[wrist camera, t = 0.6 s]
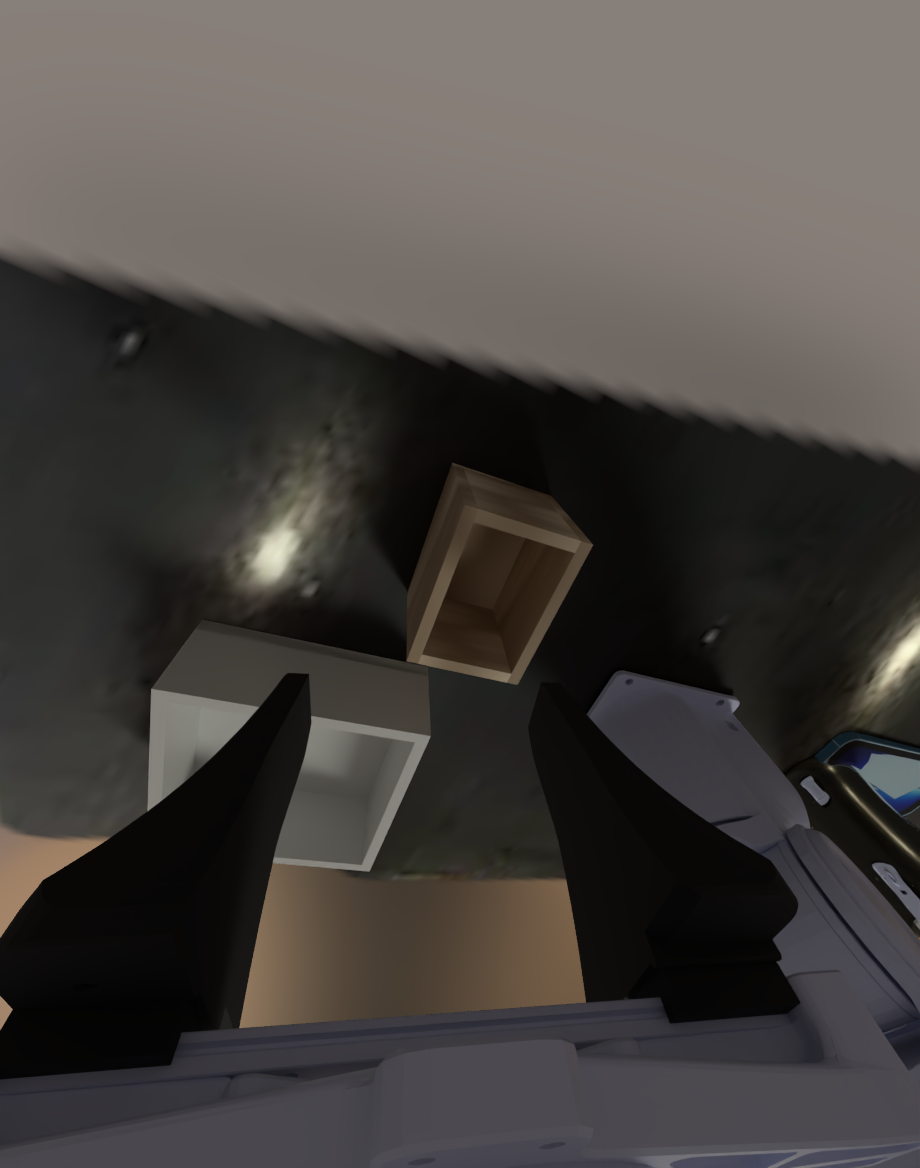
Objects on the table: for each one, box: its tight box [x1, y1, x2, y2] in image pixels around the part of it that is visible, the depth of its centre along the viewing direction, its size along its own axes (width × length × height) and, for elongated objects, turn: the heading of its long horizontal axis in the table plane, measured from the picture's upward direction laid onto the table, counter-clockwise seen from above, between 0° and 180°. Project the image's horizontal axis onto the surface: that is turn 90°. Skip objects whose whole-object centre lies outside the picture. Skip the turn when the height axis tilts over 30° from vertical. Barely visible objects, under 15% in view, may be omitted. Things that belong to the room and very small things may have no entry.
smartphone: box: [814, 732, 920, 816], centre depth 35 cm, size 7×1×15 cm
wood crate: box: [406, 463, 593, 685], centre depth 19 cm, size 5×7×6 cm
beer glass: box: [784, 757, 920, 940], centre depth 28 cm, size 7×7×15 cm
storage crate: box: [148, 619, 431, 871], centre depth 24 cm, size 12×12×5 cm
